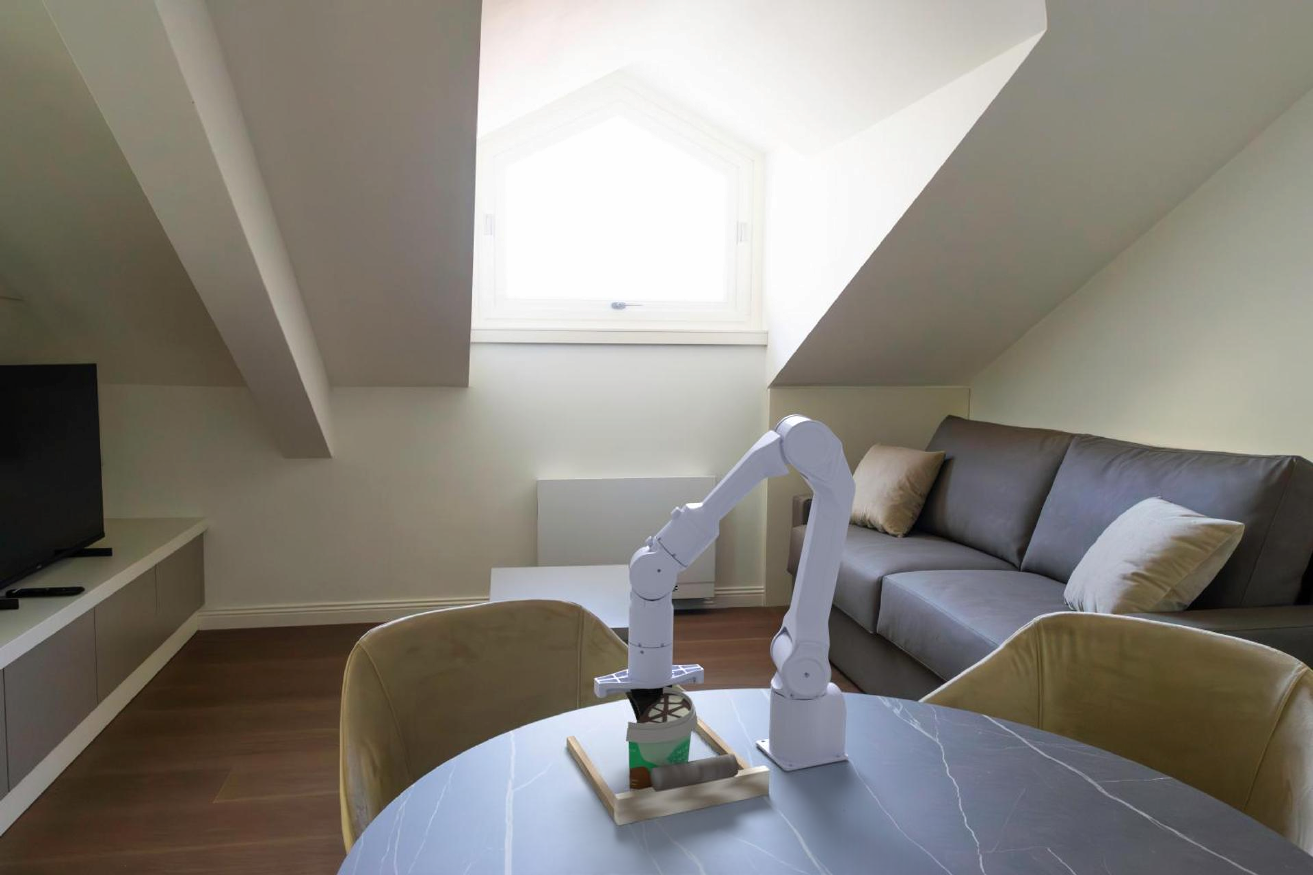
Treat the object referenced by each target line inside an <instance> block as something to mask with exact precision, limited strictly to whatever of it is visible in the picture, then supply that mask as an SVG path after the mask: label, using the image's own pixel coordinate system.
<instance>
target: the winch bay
mask: <svg viewBox="0 0 1313 875" xmlns="http://www.w3.org/2000/svg"><path fill="white" fill-rule="evenodd" d="M697 721H698V722H697V726H696V728H695V729H694V730H695V731H696V732H697V733H698V734H699V735H700V736H701V737H702V738H703V739H704V740H705V741H706V743H708V744H709V745H710V746H711V747H712V748H713V749H714V750H715V751H716V752H717V753H718V754H719V755H717V756H711V757H706V758H701V759H696V760H690V761H689V760H688V762H684V763H678V764H673V765H667V766H662V767H656V768H652V769H651V772H650V778H651V784H652V787H650V788H645V789H640V790H635V791H630V790H629V791H625V792H620V793H619V792H618V793H615V794H614V792H612V790H611V788H610V786H609V785H608V784H607V782H606V781H605V779H604V778H603V776H602V775H601V773H600V772H599V770H598V769H597V767H595V765H594V763H593V761H592V760H591V758H590V757H589V755H588V754H587V753H586V751H585V750H584V748H583V746H581V743H580V742H579V741H578V740H577V738H576V737H575V735H571V736H566V747H567V748H568V750H569V752H570V753H571V755H572V756H573V758H574V759H575V761H576V762H577V765H578V766H579V767H580V768H581V770H582V772H583V774H584V775H585V777H586V778H587V780H588V781H589V783H590V784H591V786H592V788H593V789H594V791H595V792H596V794H597V795H598V797H599V798H600V800H601V801H602V803H603V804H604V807H605V808H606V810H607V811H608V813H609V814H610V816H611V818H612V819H613V821H614V822H615V824H616V825H617V826H623V825H627V824H631V823H637V822H641V821H646V820H651V819H656V818H662V817H665V816H670V815H676V814H680V813H685V812H689V811H696V810H700V809H704V808H708V807H713V806H718V805H724V804H729V803H734V802H738V801H743V800H748V799H753V798H758V797H761V796H762V797H763V796H768V795H770V775H771V773H770V772H771V771H770V769H769V768H768V766H766V765H760V766H755V767H751V766H750V765H749V764H748V763H747V762H746V760H744V759H743V758H742V756H740V755H739V754H738V753H737V752H736V751H735V750H733V748H732V747H730V746H729V744H728V743H726V742H725V741H724V740H723V739H722V738H721V737H720V736H719V735H718V734H717V733H716V731H714V730H713V729H712V728H711V727H710V726H709V725H708V724H706V722H705V721H703V720H702V719H701V718H700V717H699V716H698V715H697Z"/></svg>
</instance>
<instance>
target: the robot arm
mask: <svg viewBox="0 0 1313 875" xmlns="http://www.w3.org/2000/svg"><path fill="white" fill-rule="evenodd" d="M787 465H791V466H792V467H793V468H794V469H795V470H797V471H798V472H799V474H800V476H801V477H802V478H803V479H804V481H805V482H806V484H807V485H808V486H809V488H810V489H811V491H812V492H813V493H812V494H813V495H812V500H811V505H810V510H809V516H808V519H807V520H808V521H807V524H806V529H805V534H804V539H803V544H802V549H801V553H800V559H799V563H798V568H797V571H796V572H797V573H796V576H795V582H794V587H793V592H792V596H791V601H790V602H791V603H790V606H789V609H788V611H787V612H786V613H785V615H784V617H783V619H782V625H781V628H780V629H779V631H778V632H777V633H776V634H775V635H774V637H773V639H772V641H771V644H770V649H769V650H770V657H771V659H772V662H773V663H774V664H775V666H776V668H777V670H776V672H775V674H774V675H773V677H772V679H771V680H770V694H769V695H770V698H769V699H770V701H769V703H770V704H769V705H770V706H769V730H768V732H769V733H768V734H769V735H768V738H766V739H759V740H756V741H755V745H756V746H757V747H758V748H759V749H760V750H761V751H762V752H763V753H765V754H766V755H767V756H768V757H769V758H770V759H771V760H772V761H774V762H775V763H776V764H777V765H778V766H780V768H781V769H783V771H787V772H790V771H795V770H800V769H805V768H810V767H816V766H820V765H825V764H830V763H831V764H832V763H836V762H840V761H845V760H848V759H849V754H847V753H846V748H845V747H846V734H847V733H846V729H847V705H846V700H845V698H844V695H843V693H842V691H841V689H840V688H839V687H838V685H837V684H835V683H834V682H830V681H831V678H832V669H831V668H832V667H831V665H830V662H829V650H830V642H831V641H830V634H829V620H830V619H829V618H830V614H831V608H832V605H833V599H834V595H835V590H836V585H837V582H838V581H837V580H838V576H839V571H840V567H841V563H842V562H841V561H842V557H843V552H844V547H845V543H846V538H847V534H848V529H849V523H850V519H851V514H852V510H853V505H854V501H855V496H856V491H857V490H856V489H857V487H856V482H855V480H854V477H853V474H852V472H851V469H850V466H849V463H848V461H847V458H846V456H845V453H844V448H843V443H842V441H841V440H840V439H839V438H838V437H837V436H836V434H834V432H833V431H832V430H831V429H830V428H829V427H828V426H827V425H826V424H824V423H822V422H821V421H818V420H815V419H811V418H810V417H807V416H806V415H803V414H792V415H788V416H786V417H783V418H782V419H781V420H780V421H778V423H777V424H776V425H775V427H774V428H773V430H772V429H770V430H769V431H767V432H766V433H765V434H763V435H762V436H761V437H760V438H759V439H758V440H757V442H756V443H754V444H753V446H751V448H749V449H748V451H747V452H746V453H745V454H744V455H743V456H742V457H741V459H739V461H738V462H736V464H735V465H734V466H733V467H732V468H731V469H730V470H729V471H728V473H727V474H726V475H725V476H724V477H723V478H722V479H721V481H720V482H719V483H718V484H717V485H716V486H715V487H714V488H713V490H712V491H710V493H709V494H708V495H707V496H706V497H705V498H704V499H703V501H701V502H696V503H686V504H685V505H684V506H683V507H682V508H680V507H679V506H676V507H675V508H674V509H673V510H672V511H671V512H670V515H671V517H672V518H671V519H670V520H669V521H668V522H667V523H666V524H665V525H664V526H663V528H661V529H660V531H659V532H658V533H656V535H655V536H654V537H653V536H649V537H647V539H645V545H646V546H642V547H640V548H639V549H638V550H636V552H634V554H633V555H632V557H631V559H630V563H629V565H628V571H629V583H630V586H631V589H630V591H629V599H630V603H629V606H628V648H627V649H628V650H627V652H628V653H627V654H628V656H627V657H628V658H627V659H628V662H627V664H628V665H627V669H624V670H620V671H617V672H615V673H611V674H608V675H603V676H600V677H594V678H593V680H594V684H593V685H594V686H593V692H594V694H595V695H596V696H597V698H598V699H604V698H606V697H607V695H615V694H620V693H621V694H622V693H625V695H626V697H627V699H628V701H629V703H630V706H631V709H632V711H633V714H634V716H635V720H636V722H637V721H638V720H639V719H640V718H641V716H642V715H643V714H644V712H645V711H646V709H647V708H648V707H649V706H650V705H652V704H654V703H655V702H657V701H658V700H659V699H660V697H661V696H662V695H663V686H665V687H670V688H673V686H680V685H687V684H693V683H694V684H696V685H701V684H704V681H705V679H704V678H705V669H704V668H703V667H701V666H700V665H699V664H683V665H682V664H681V665H680V664H675V665H674V664H673V656H674V655H673V654H674V653H673V651H674V650H673V647H674V644H673V642H674V640H673V639H674V605H673V603H672V602H673V601H672V597H673V591H674V589H675V587H676V584H677V582H678V581H677V579H678V574H679V573H681V572H684V571H685V570H686V569H687V568H688V567H689V566H690V565H691V564H692V563H693V562H695V560H696V559H697V558H698V557H699V556H700V555H701V554H702V553H703V552H704V551H706V549H707V548H708V547H709V546H710V545H711V544H712V543H713V542H714V541H715V540H716V539H717V538H718V537H719V535H720V521H721V520H722V519H723V518H725V516H726V515H727V514H728V513H729V512H730V511H732V509H734V508H735V507H736V506H737V505H738V504H739V503H740V502H741V501H742V500H743V499H744V498H745V497H746V496H747V495H748V494H750V493H751V492H752V491H753V490H754V489H755V488H756V487H758V485H759V484H760V483H762V481H763V480H766V479H769V478H774V477H780V476H786V475H789V474H790V471H789V469H788V467H787Z"/></svg>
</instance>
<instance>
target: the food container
mask: <svg viewBox="0 0 1313 875" xmlns="http://www.w3.org/2000/svg"><path fill="white" fill-rule="evenodd" d="M694 704H695V703H694V702H693V700H692V698H691V697H690V696H689V695H688V694H686V693H685V692H683V691H682V690H678V689H676V688H673V687H672V688H670V687H665V686H663V695H662V696H661V697H660V699H659V700H658V701H657V702H655V703H654V704H652V705H650V706H649V707H648V708H647V709H646V711H645V712H644V714H643V715H642V716H641V718H640V719H639V720H638V721H637V720H636V722H632V721H628V722H627V728H626V738H625V741H626V742H628V770H629V772H628V773H629V774H628V775H629V776H628V778H629V791H635V790H640V789H645V788H650V787H652V784H651V778H650V772H651V769H652V768H656V767H662V766H667V765H673V764H678V763H684V762H689V758H690V757H689V756H690V749H691V747H690V746H691V740H692V739H691V738H692V732H693V731H694V730H695V728H696V726H697V722H698V721H697V716H698V715H697V710H696V707H695V705H694Z"/></svg>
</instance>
